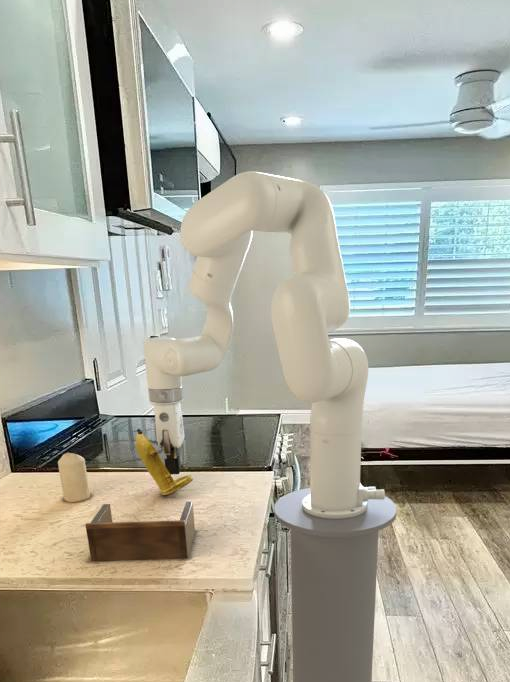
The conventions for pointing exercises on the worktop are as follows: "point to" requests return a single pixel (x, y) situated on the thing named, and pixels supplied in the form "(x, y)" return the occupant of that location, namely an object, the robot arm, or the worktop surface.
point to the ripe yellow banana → (158, 466)
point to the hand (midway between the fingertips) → (173, 473)
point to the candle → (73, 477)
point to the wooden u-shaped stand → (140, 537)
